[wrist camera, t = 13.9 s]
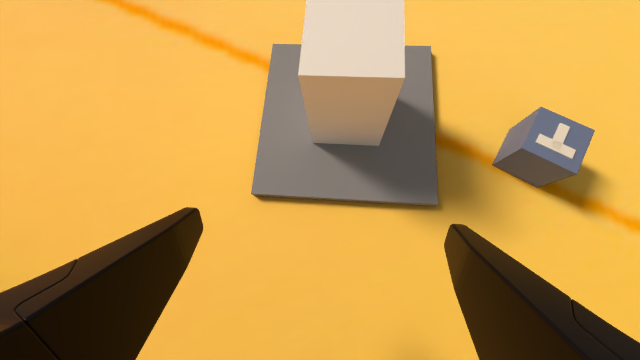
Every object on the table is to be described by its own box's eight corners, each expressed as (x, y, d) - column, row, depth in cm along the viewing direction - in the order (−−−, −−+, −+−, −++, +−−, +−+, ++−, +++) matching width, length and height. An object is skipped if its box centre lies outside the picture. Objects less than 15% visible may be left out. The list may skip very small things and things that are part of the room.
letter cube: (536, 187, 23) (578, 173, 19) (491, 165, 24) (522, 147, 20) (552, 150, 24) (596, 129, 20) (508, 130, 24) (541, 106, 20)
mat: (434, 206, 23) (438, 204, 22) (253, 195, 24) (251, 193, 23) (428, 52, 27) (430, 46, 26) (274, 49, 28) (273, 44, 28)
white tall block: (378, 145, 24) (404, 77, 15) (312, 142, 24) (298, 75, 15) (379, 88, 25) (404, -6, 16) (317, 86, 26) (307, -6, 17)
